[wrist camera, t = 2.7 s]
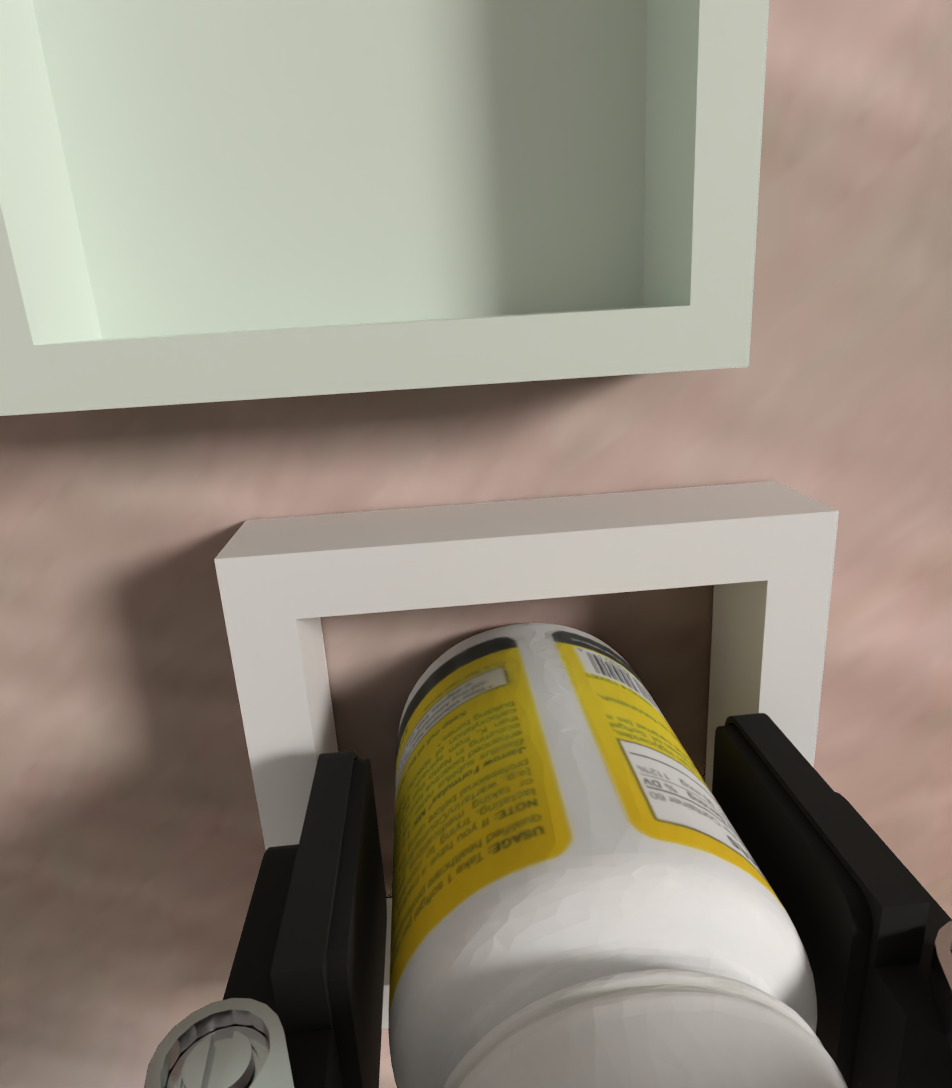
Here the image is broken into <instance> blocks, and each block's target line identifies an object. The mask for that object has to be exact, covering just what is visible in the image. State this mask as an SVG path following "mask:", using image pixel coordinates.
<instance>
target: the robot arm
mask: <svg viewBox="0 0 952 1088" xmlns="http://www.w3.org/2000/svg"><path fill="white" fill-rule="evenodd" d="M712 794H713V796H714V797H715V799H716V800H717V802H718V804H719V805H720V806H721V808H722V810H723V811H724V813H725V815H726V816H727V818H728V820H729V821H730V823H731V824H732V826H733V828H734V829H735V831H736V832H737V834H738V836H739V837H740V839H741V840H742V842H743V844H744V845H745V847H746V848H747V850H748V851H749V853H750V855H751V856H752V858H753V859H754V861H755V862H756V864H757V866H758V867H759V869H760V870H761V872H762V873H763V875H764V877H765V878H766V880H767V881H768V883H769V884H770V886H771V888H772V889H773V891H774V892H775V894H776V896H777V897H778V899H779V900H780V902H781V903H782V905H783V907H784V908H785V910H786V912H787V914H788V915H789V917H790V919H791V921H792V923H793V925H794V926H795V929H796V931H797V933H798V935H799V937H800V939H801V942H802V944H803V946H804V948H805V951H806V954H807V957H808V960H809V963H810V966H811V969H812V973H813V977H814V984H815V991H816V998H817V1025H816V1036H817V1037H818V1038H819V1040H820V1041H821V1043H822V1045H823V1047H824V1049H825V1050H826V1051H827V1052H828V1054H829V1055H830V1056H831V1058H832V1059H833V1061H834V1062H835V1064H836V1065H837V1067H838V1069H839V1071H840V1072H841V1074H842V1076H843V1078H844V1080H845V1082H846V1085H847V1087H848V1088H952V919H951V918H950V917H949V916H948V915H947V914H946V912H945V911H944V910H943V909H942V908H941V907H940V906H939V905H938V903H937V902H936V901H935V900H934V899H933V898H932V897H931V895H930V894H929V893H928V892H927V891H926V890H925V889H924V887H923V886H922V885H921V884H920V883H919V882H918V881H917V879H916V878H915V877H914V876H913V875H912V874H911V873H910V871H909V870H908V869H907V868H906V867H905V866H904V865H903V864H902V862H901V861H900V860H899V859H898V858H897V857H896V856H895V854H894V853H893V852H892V851H891V850H890V849H889V848H888V846H887V845H886V844H885V843H884V842H883V841H882V840H881V838H880V837H879V836H878V835H877V834H876V833H875V832H874V831H873V829H872V828H871V827H870V826H869V825H868V824H867V823H866V821H865V820H864V819H863V818H862V817H861V816H860V815H859V813H858V812H857V811H856V810H855V809H854V808H853V807H852V805H851V804H850V803H849V802H848V801H847V800H846V799H845V798H844V797H843V796H842V795H840V794H839V793H836V792H834V791H833V790H832V789H831V787H830V786H829V785H828V784H827V783H826V782H825V781H824V779H823V778H822V777H821V776H820V775H819V774H818V772H817V771H816V770H815V769H814V768H813V767H812V766H811V764H810V763H809V762H808V761H807V760H806V759H805V757H804V756H803V755H802V754H801V753H800V752H799V751H798V749H797V748H796V747H795V746H794V745H793V744H792V742H791V741H790V740H789V739H788V738H787V737H786V736H785V734H784V733H783V732H782V731H781V730H780V729H779V728H778V726H777V725H776V724H775V723H774V722H773V721H772V719H771V718H770V717H769V716H768V715H766V714H765V713H756V714H745V715H734V716H729V717H728V718H727V719H726V722H725V726H718V727H717V728H716V731H715V740H714V761H713V781H712ZM386 931H387V903H386V892H385V883H384V875H383V866H382V858H381V849H380V841H379V832H378V824H377V815H376V807H375V798H374V790H373V781H372V773H371V765H370V760H369V759H361V760H357V755H356V752H355V751H345V752H334V753H323V754H320V755H319V757H318V760H317V765H316V769H315V774H314V778H313V783H312V787H311V792H310V796H309V801H308V805H307V810H306V814H305V819H304V823H303V828H302V832H301V837H300V841H299V844H296V845H286V846H276V847H269V848H268V849H267V850H266V852H265V854H264V857H263V860H262V863H261V867H260V870H259V874H258V877H257V881H256V884H255V888H254V892H253V895H252V899H251V902H250V906H249V909H248V913H247V916H246V920H245V923H244V927H243V931H242V934H241V938H240V941H239V945H238V948H237V952H236V955H235V959H234V962H233V966H232V970H231V973H230V977H229V980H228V984H227V987H226V991H225V994H224V998H223V1000H222V1001H218V1002H214V1003H211V1004H209V1005H207V1006H205V1007H203V1008H201V1009H199V1010H197V1011H195V1012H193V1013H191V1014H190V1015H189V1016H187V1017H186V1018H185V1019H184V1020H182V1021H181V1022H180V1023H179V1024H177V1025H176V1026H175V1027H173V1029H172V1030H171V1031H170V1032H169V1033H168V1035H167V1036H166V1037H165V1038H164V1039H163V1041H162V1042H161V1043H160V1044H159V1045H158V1047H157V1049H156V1051H155V1053H154V1055H153V1057H152V1059H151V1061H150V1063H149V1065H148V1069H147V1075H146V1080H145V1085H144V1088H379V1071H380V1051H381V1031H382V1011H383V991H384V971H385V951H386Z"/></svg>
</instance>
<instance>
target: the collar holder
mask: <svg viewBox="0 0 952 1088" xmlns="http://www.w3.org/2000/svg"><path fill="white" fill-rule="evenodd" d="M838 515H839V511H838V510H836V509H834V508H832V507H830V506H827V505H825V504H823V503H821V502H819V501H817V500H815V499H813V498H811V497H809V496H806V495H804V494H802V493H800V492H798V491H796V490H794V489H792V488H790V487H787V486H785V485H783V484H781V483H779V482H777V481H766V482H752V483H739V484H726V485H712V486H699V487H685V488H672V489H659V490H645V491H632V492H618V493H605V494H592V495H578V496H565V497H552V498H538V499H525V500H511V501H498V502H485V503H471V504H458V505H444V506H431V507H418V508H404V509H391V510H378V511H364V512H351V513H337V514H324V515H311V516H297V517H284V518H270V519H257V520H246V521H245V522H244V523H243V525H242V526H241V527H240V528H239V529H238V531H237V532H236V533H235V534H234V536H233V537H232V538H231V539H230V540H229V542H228V543H227V544H226V545H225V547H224V548H223V549H222V550H221V551H220V553H219V554H218V555H217V556H216V558H215V559H214V561H215V567H216V573H217V578H218V584H219V590H220V595H221V601H222V607H223V612H224V618H225V624H226V629H227V635H228V641H229V646H230V652H231V658H232V663H233V669H234V675H235V680H236V686H237V692H238V697H239V703H240V709H241V714H242V720H243V726H244V731H245V737H246V743H247V748H248V754H249V760H250V765H251V771H252V777H253V782H254V788H255V794H256V799H257V805H258V811H259V816H260V822H261V828H262V833H263V839H264V845H265V850H267V849H268V848H269V847H276V846H286V845H296V844H299V841H300V837H301V832H302V828H303V823H304V819H305V814H306V810H307V805H308V801H309V796H310V792H311V787H312V783H313V778H314V774H315V769H316V765H317V760H318V757H319V755H320V754H323V753H334V752H338V746H337V738H336V731H335V723H334V716H333V708H332V701H331V693H330V686H329V678H328V671H327V663H326V656H325V648H324V641H323V633H322V626H321V618H320V617H328V616H340V615H353V614H365V613H377V612H389V611H401V610H413V609H425V608H438V607H450V606H462V605H474V604H486V603H498V602H510V601H523V600H535V599H547V598H559V597H571V596H583V595H595V594H608V593H620V592H632V591H644V590H656V589H668V588H680V587H693V586H705V585H714V597H713V619H712V641H711V662H710V684H709V706H708V728H707V750H706V772H705V783H706V784H707V786H708V788H709V789H710V791H711V792H712V781H713V761H714V740H715V731H716V728H717V727H718V726H725V722H726V719H727V718H728V717H729V716H734V715H745V714H756V713H765V714H766V715H768V716H769V717H770V718H771V719H772V721H773V722H774V723H775V724H776V725H777V726H778V728H779V729H780V730H781V731H782V732H783V733H784V734H785V736H786V737H787V738H788V739H789V740H790V741H791V742H792V744H793V745H794V746H795V747H796V748H797V749H798V751H799V752H800V753H801V754H802V755H803V756H804V757H805V759H806V760H807V761H808V762H809V763H810V764H811V766H812V767H813V768H814V758H815V748H816V738H817V728H818V718H819V708H820V697H821V687H822V677H823V667H824V657H825V647H826V636H827V626H828V616H829V606H830V596H831V586H832V576H833V565H834V555H835V545H836V535H837V525H838ZM386 903H387V931H386V951H385V971H384V991H383V1011H382V1029H388V1028H389V985H390V946H391V918H392V898H386Z"/></svg>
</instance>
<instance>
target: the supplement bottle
mask: <svg viewBox="0 0 952 1088" xmlns="http://www.w3.org/2000/svg"><path fill="white" fill-rule="evenodd" d="M816 1025H817V998H816V991H815V984H814V977H813V973H812V969H811V966H810V963H809V960H808V957H807V954H806V951H805V948H804V946H803V944H802V942H801V939H800V937H799V935H798V933H797V931H796V929H795V926H794V925H793V923H792V921H791V919H790V917H789V915H788V914H787V912H786V910H785V908H784V907H783V905H782V903H781V902H780V900H779V899H778V897H777V896H776V894H775V892H774V891H773V889H772V888H771V886H770V884H769V883H768V881H767V880H766V878H765V877H764V875H763V873H762V872H761V870H760V869H759V867H758V866H757V864H756V862H755V861H754V859H753V858H752V856H751V855H750V853H749V851H748V850H747V848H746V847H745V845H744V844H743V842H742V840H741V839H740V837H739V836H738V834H737V832H736V831H735V829H734V828H733V826H732V824H731V823H730V821H729V820H728V818H727V816H726V815H725V813H724V811H723V810H722V808H721V806H720V805H719V804H718V802H717V800H716V799H715V797H714V796H713V794H712V792H711V791H710V789H709V788H708V786H707V784H706V783H705V781H704V780H703V778H702V776H701V775H700V773H699V772H698V770H697V768H696V767H695V765H694V763H693V762H692V760H691V759H690V757H689V756H688V754H687V752H686V751H685V749H684V748H683V746H682V744H681V743H680V741H679V740H678V738H677V736H676V735H675V733H674V732H673V730H672V728H671V726H670V725H669V723H668V722H667V720H666V719H665V717H664V716H663V714H662V713H661V711H660V710H659V708H658V707H657V705H656V703H655V702H654V700H653V699H652V697H651V696H650V694H649V692H648V690H647V689H646V687H645V686H644V684H643V683H642V681H641V679H640V678H639V676H638V675H637V673H636V672H635V671H634V670H633V668H632V667H631V666H630V665H629V664H628V662H627V661H626V660H625V659H624V658H623V657H622V656H621V655H620V654H619V653H617V652H616V651H615V650H614V649H613V648H611V647H610V646H609V645H607V644H606V643H604V642H603V641H601V640H600V639H598V638H596V637H594V636H592V635H590V634H588V633H585V632H583V631H580V630H577V629H574V628H571V627H567V626H563V625H557V624H550V623H522V624H514V625H508V626H503V627H499V628H495V629H491V630H488V631H485V632H482V633H479V634H477V635H474V636H472V637H470V638H467V639H466V640H464V641H462V642H460V643H458V644H456V645H455V646H453V647H452V648H450V649H449V650H448V651H446V652H445V653H444V654H442V655H441V656H440V657H439V658H438V659H436V660H435V661H434V662H433V663H432V664H431V666H430V667H429V668H428V669H427V670H426V671H425V672H424V674H423V675H422V676H421V677H420V679H419V680H418V682H417V683H416V685H415V686H414V688H413V690H412V692H411V693H410V695H409V698H408V700H407V702H406V704H405V707H404V710H403V713H402V716H401V720H400V724H399V731H398V740H397V751H396V787H395V818H394V855H393V883H392V918H391V946H390V985H389V1045H390V1054H391V1063H392V1068H393V1073H394V1078H395V1082H396V1085H397V1088H848V1087H847V1085H846V1082H845V1080H844V1078H843V1076H842V1074H841V1072H840V1071H839V1069H838V1067H837V1065H836V1064H835V1062H834V1061H833V1059H832V1058H831V1056H830V1055H829V1054H828V1052H827V1051H826V1050H825V1049H824V1047H823V1045H822V1043H821V1041H820V1040H819V1038H818V1037H817V1036H816Z"/></svg>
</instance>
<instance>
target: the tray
mask: <svg viewBox="0 0 952 1088" xmlns="http://www.w3.org/2000/svg"><path fill="white" fill-rule="evenodd" d="M768 15H769V0H0V416H7V415H23V414H38V413H53V412H68V411H83V410H99V409H114V408H129V407H144V406H159V405H175V404H190V403H205V402H220V401H235V400H251V399H266V398H281V397H296V396H311V395H327V394H342V393H357V392H372V391H387V390H403V389H418V388H433V387H448V386H464V385H479V384H494V383H509V382H524V381H540V380H555V379H570V378H585V377H600V376H616V375H631V374H646V373H661V372H676V371H692V370H707V369H722V368H737V367H749V355H750V337H751V319H752V301H753V283H754V265H755V248H756V230H757V212H758V194H759V176H760V158H761V140H762V122H763V104H764V87H765V69H766V51H767V33H768Z"/></svg>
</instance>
